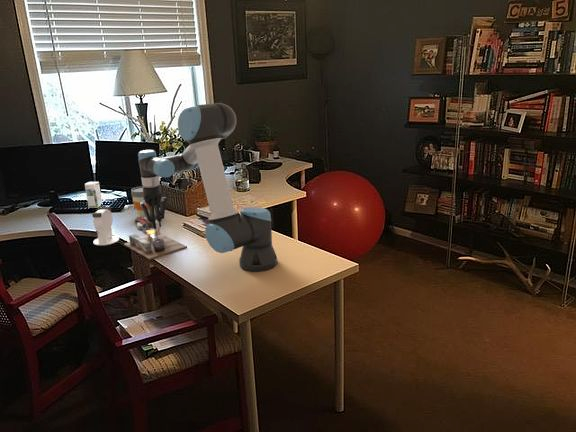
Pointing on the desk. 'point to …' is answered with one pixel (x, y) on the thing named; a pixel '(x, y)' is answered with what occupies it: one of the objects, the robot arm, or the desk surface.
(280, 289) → the desk surface
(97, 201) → the syrup box
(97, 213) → the white figurine
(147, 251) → the board
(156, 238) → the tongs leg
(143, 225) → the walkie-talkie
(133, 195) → the reusable coffee cup
